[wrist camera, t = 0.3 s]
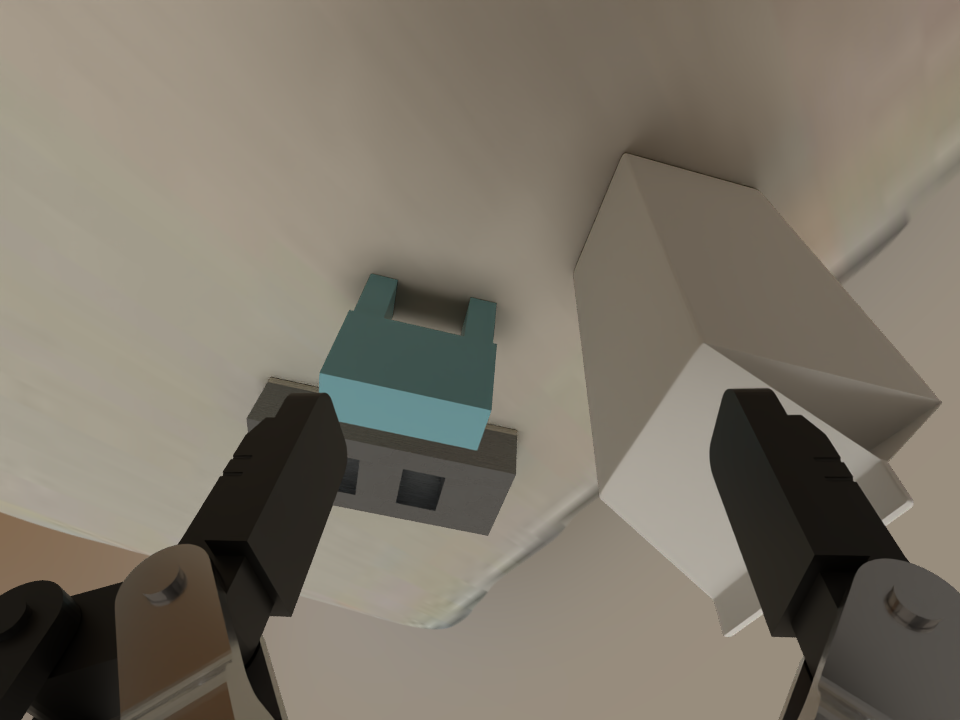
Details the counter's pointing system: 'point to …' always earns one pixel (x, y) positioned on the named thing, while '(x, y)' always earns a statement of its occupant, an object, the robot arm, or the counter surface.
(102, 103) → the counter surface
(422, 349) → the teal elongated block
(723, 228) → the milk carton
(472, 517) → the grey socket block
